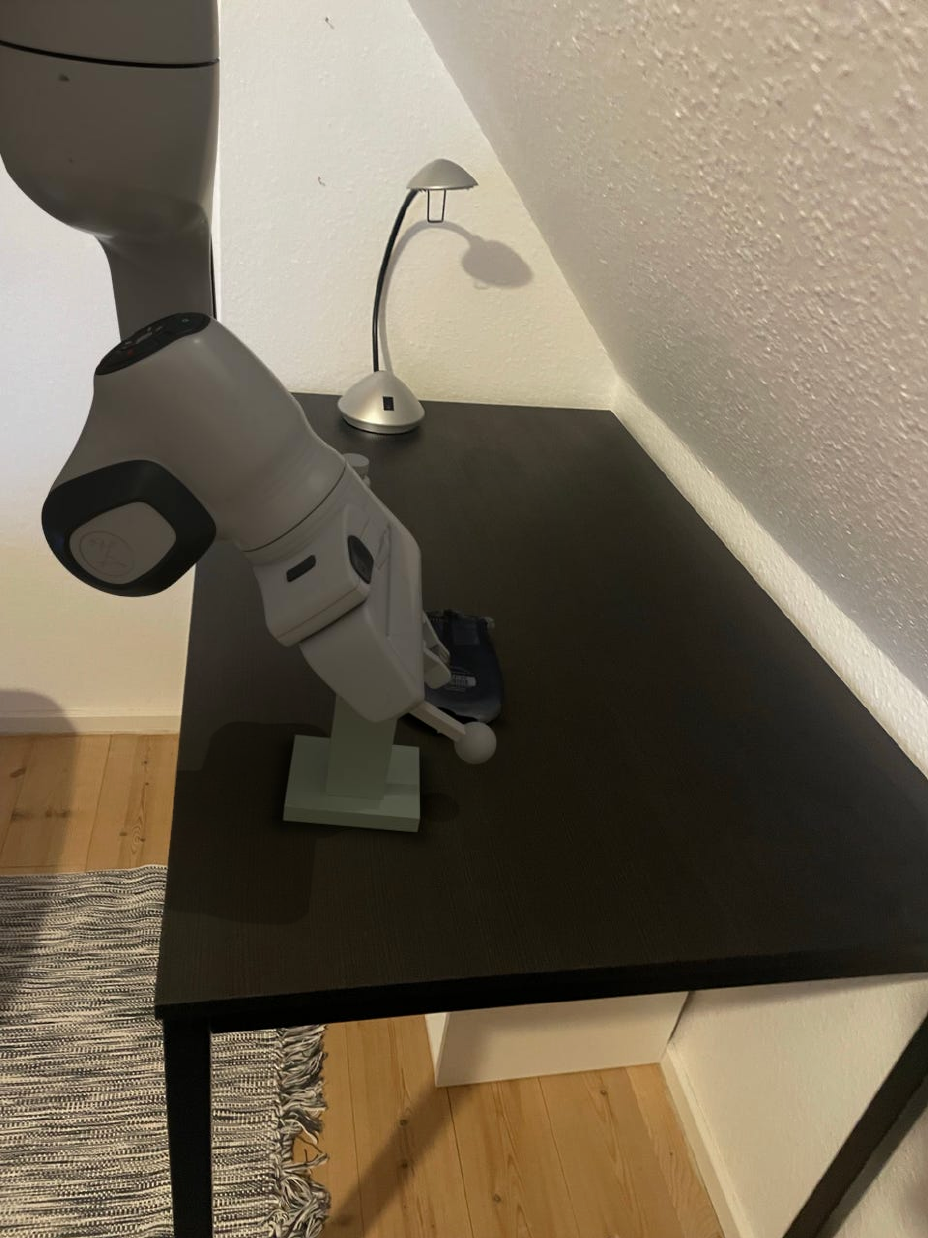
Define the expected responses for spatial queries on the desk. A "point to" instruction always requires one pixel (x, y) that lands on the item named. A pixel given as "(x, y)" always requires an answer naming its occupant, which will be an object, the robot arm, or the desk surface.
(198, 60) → the robot arm
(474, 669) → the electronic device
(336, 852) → the desk surface
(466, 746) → the switch lever
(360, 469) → the pill bottle
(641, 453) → the desk surface
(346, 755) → the switch base
